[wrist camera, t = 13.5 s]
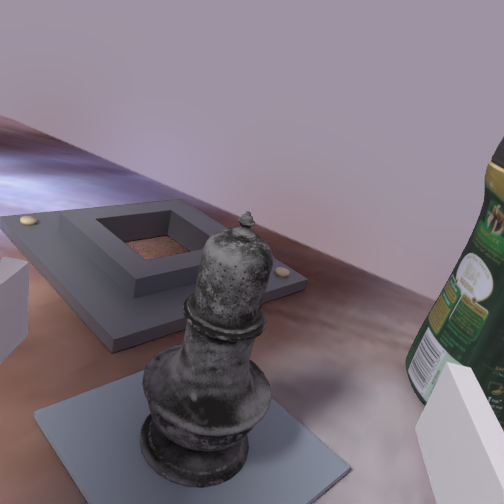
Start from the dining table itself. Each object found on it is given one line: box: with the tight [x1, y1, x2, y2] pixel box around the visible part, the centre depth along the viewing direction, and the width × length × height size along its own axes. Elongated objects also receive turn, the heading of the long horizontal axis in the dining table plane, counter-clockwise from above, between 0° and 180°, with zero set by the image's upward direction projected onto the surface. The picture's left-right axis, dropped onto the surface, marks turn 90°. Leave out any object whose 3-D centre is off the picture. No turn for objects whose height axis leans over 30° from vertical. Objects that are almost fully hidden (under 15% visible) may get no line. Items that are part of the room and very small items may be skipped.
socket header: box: [0, 199, 308, 353], centre depth 39 cm, size 18×18×2 cm
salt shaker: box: [140, 212, 273, 488], centre depth 21 cm, size 6×6×12 cm
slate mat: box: [34, 370, 350, 504], centre depth 23 cm, size 11×11×1 cm
